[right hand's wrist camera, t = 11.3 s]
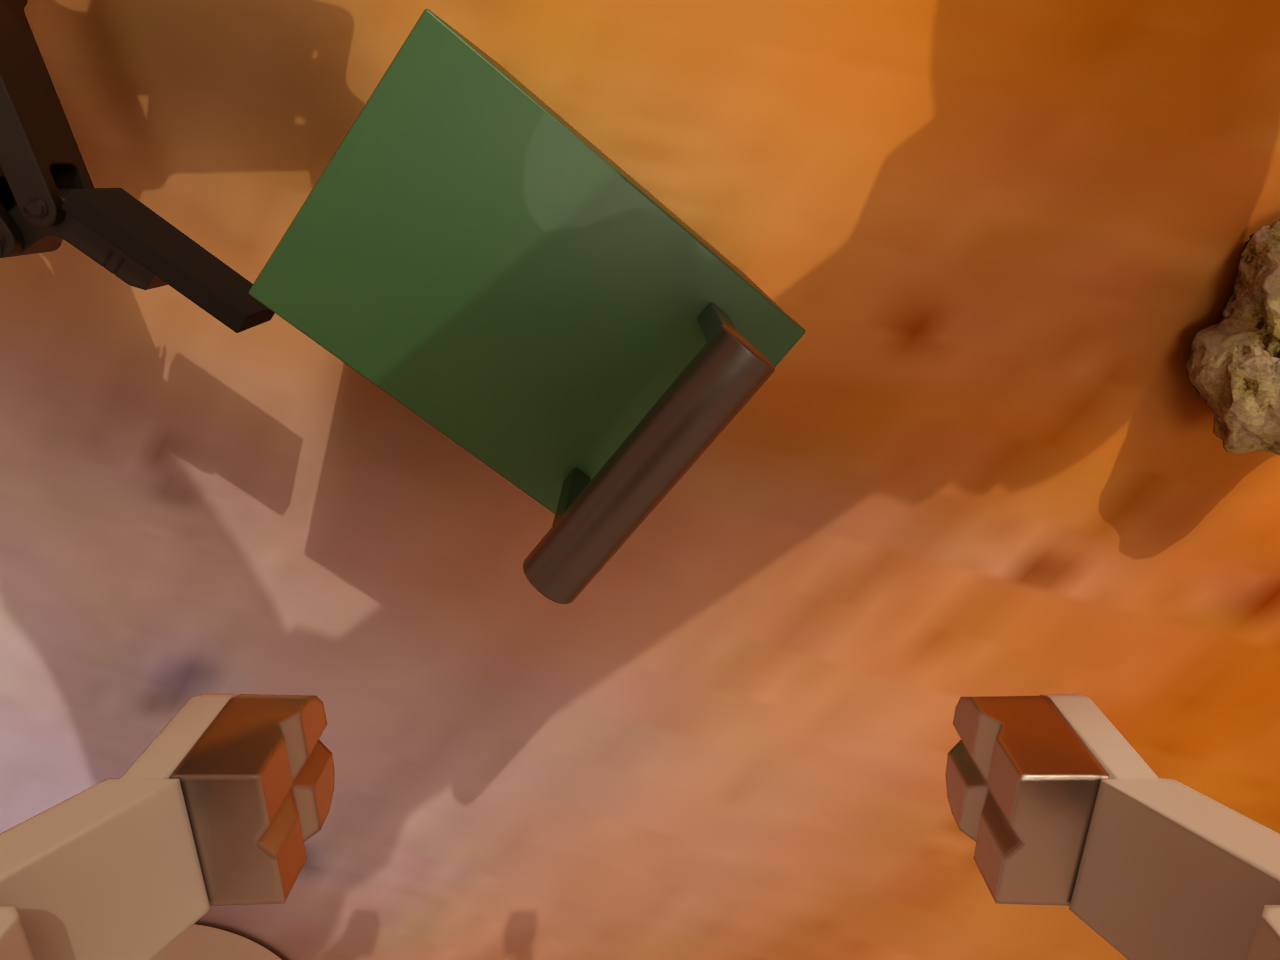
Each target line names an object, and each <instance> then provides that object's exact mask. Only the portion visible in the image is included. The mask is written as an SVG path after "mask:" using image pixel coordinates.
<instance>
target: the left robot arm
mask: <svg viewBox="0 0 1280 960" xmlns="http://www.w3.org/2000/svg"><path fill="white" fill-rule="evenodd" d="M26 4H27V0H0V258H4V257H12V256H19V255H27V254H35V253H43V252H50V251H54V250H56V249H57V248H59V247H60V245H61V242H62V240H63V239H64V240H66V241H67V242H69V243H70V244H71V245H73V246H74V247H76V248H77V249H79V250H80V251H81V252H83V253H84V254H86V255H87V256H89V257H90V258H91V259H93V260H94V261H96V262H97V263H99V264H100V265H101V266H104V267H105V268H106V269H107V270H108V271H110V272H111V273H113V274H115V275H116V276H117V277H118V278H120V279H121V280H123V281H124V282H126V283H127V284H128V285H130V286H134V287H137V288H141V289H144V290H147V289H151V288H156V287H160V286H164V285H170V286H171V287H173V288H174V289H175V290H177V291H178V292H180V293H181V294H183V295H184V296H185V297H187V298H188V299H190V300H191V301H192V302H194V303H195V304H197V305H198V306H199V307H201V308H202V309H204V310H205V311H206V312H208V313H209V314H211V315H212V316H213V317H215V318H216V319H218V320H219V321H221V322H222V323H223V324H225V325H226V326H228V327H229V328H230V329H232V330H233V331H235V332H236V333H238V332H241V331H244V330H246V329H249V328H251V327H254V326H256V325H259V324H261V323H264V322H267V321H269V320H271V318H272V317H273V315H274V314H275V312H273V311H272V310H270V309H269V308H268V307H266V306H265V305H264V304H262V303H261V302H259V301H258V300H257V299H255V298H254V297H252V296H251V295H250V294H249V291H250V289H251V287H252V286H253V284H252V283H250V282H249V281H248V280H246V279H245V278H244V277H242V276H241V275H240V274H238V273H237V272H235V271H234V270H233V269H231V268H230V267H229V266H227V265H226V264H224V263H223V262H222V261H220V260H219V259H218V258H216V257H215V256H213V255H212V254H211V253H209V252H208V251H207V250H205V249H204V248H202V247H201V246H200V245H198V244H197V243H196V242H194V241H193V240H192V239H190V238H189V237H187V236H186V235H185V234H183V233H182V232H181V231H179V230H178V229H176V228H175V227H174V226H172V225H171V224H170V223H168V222H167V221H165V220H164V219H163V218H161V217H160V216H159V215H157V214H156V213H154V212H153V211H152V210H150V209H149V208H148V207H146V206H145V205H144V204H142V203H141V202H139V201H138V200H137V199H135V198H134V197H133V196H131V195H130V194H128V193H127V192H126V191H124V190H123V189H122V188H97V189H94V186H93V184H92V181H91V179H90V176H89V174H88V171H87V169H86V166H85V164H84V161H83V159H82V156H81V154H80V151H79V149H78V146H77V144H76V141H75V139H74V136H73V134H72V131H71V129H70V126H69V124H68V121H67V118H66V116H65V113H64V111H63V108H62V106H61V103H60V101H59V98H58V96H57V93H56V91H55V88H54V86H53V83H52V81H51V78H50V76H49V73H48V71H47V68H46V66H45V63H44V61H43V58H42V56H41V53H40V51H39V48H38V46H37V43H36V41H35V38H34V36H33V33H32V31H31V28H30V26H29V23H28V21H27V18H26V16H25V13H24V7H25V6H26Z"/></svg>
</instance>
